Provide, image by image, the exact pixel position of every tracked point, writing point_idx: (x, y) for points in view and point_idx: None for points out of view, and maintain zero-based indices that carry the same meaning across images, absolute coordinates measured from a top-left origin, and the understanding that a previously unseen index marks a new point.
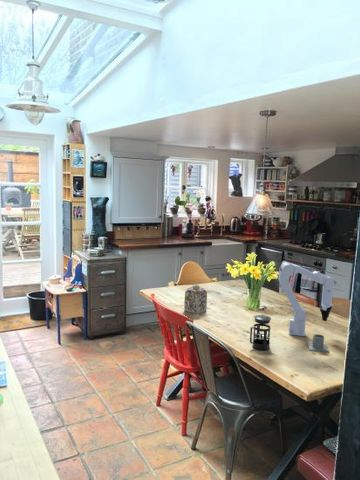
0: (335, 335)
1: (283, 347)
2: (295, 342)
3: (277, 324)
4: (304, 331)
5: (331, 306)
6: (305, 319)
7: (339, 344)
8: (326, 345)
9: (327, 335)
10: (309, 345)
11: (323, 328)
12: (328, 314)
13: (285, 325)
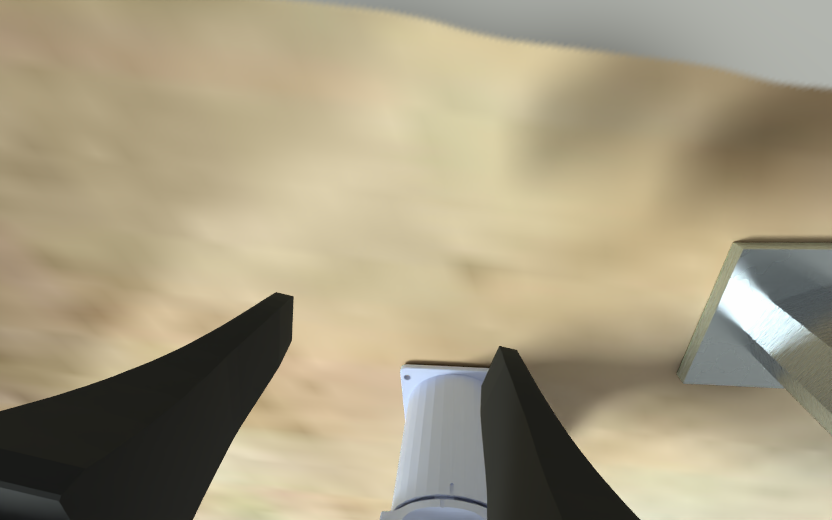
0: (392, 106)
1: (748, 494)
2: (650, 434)
3: (321, 474)
4: (478, 398)
5: (66, 513)
6: (469, 512)
7: (703, 92)
8: (786, 253)
9: (423, 196)
10: (764, 381)
11: (227, 211)
12: (261, 333)
13: (316, 444)
